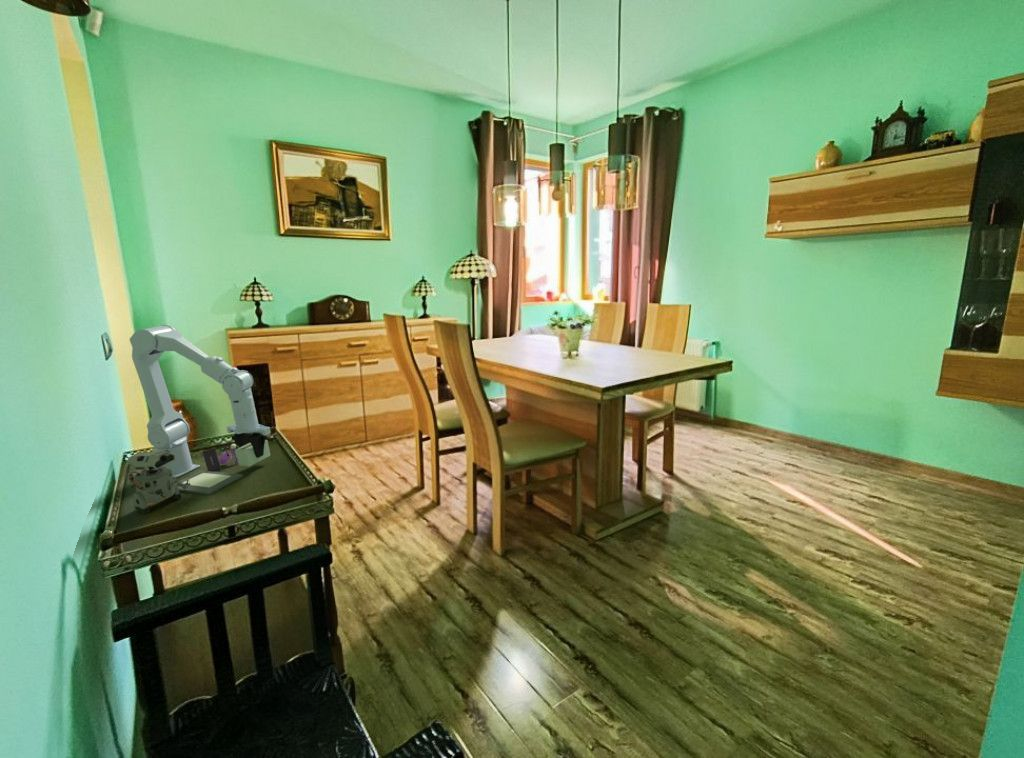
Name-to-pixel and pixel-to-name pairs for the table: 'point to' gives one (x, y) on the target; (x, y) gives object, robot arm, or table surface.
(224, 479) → the mat
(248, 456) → the mint slotted box
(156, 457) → the figurine
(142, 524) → the table surface
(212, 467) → the game card
